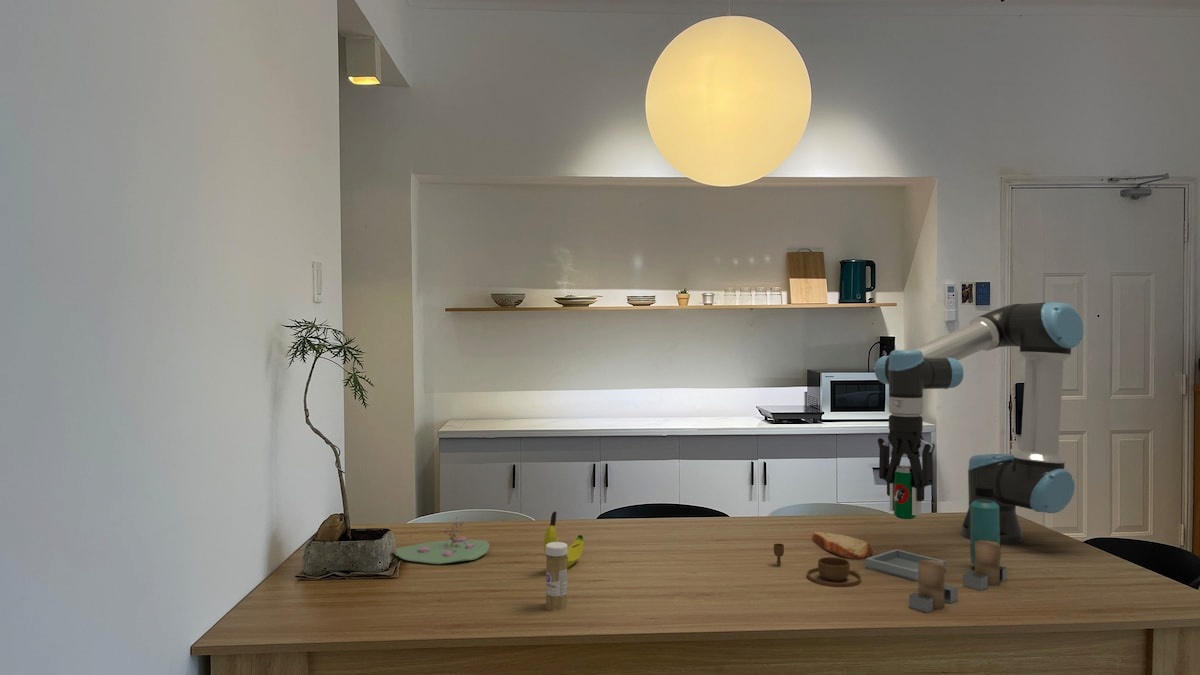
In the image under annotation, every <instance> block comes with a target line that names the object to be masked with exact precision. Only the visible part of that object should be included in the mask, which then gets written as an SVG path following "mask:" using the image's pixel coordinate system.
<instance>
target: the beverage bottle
mask: <svg viewBox="0 0 1200 675" xmlns="http://www.w3.org/2000/svg"><path fill="white" fill-rule="evenodd" d="M975 495H976V496H981V497H994V489H993V488H992V487H989V486H976V489H975ZM970 506H971V535H970V536H971V540H970V539H969V540H970V543H969V546H970V552H969V555H970V557H969V558H970V561H971V564H972V565H974V566H975V541H979V540H985V541H992V542H996V543H998V544H1000V542H1001V540H1000V526H999V505H998V504H997V503H995V502H994V501H992V500H986V499H977V500H975V501H973V502H972V503H971V504H970ZM1000 545H1001V544H1000ZM1001 546H1002V545H1001ZM1001 546H1000V561H1001V559H1002V558H1001V556H1002V554H1001V552H1002V551H1001V550H1002V549H1001V548H1002V547H1001Z"/></svg>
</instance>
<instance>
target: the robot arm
mask: <svg viewBox="0 0 1200 675" xmlns="http://www.w3.org/2000/svg"><path fill="white" fill-rule="evenodd" d="M1083 336H1084V324H1083V320H1082V317H1081V315H1080V314H1079V313H1078V312H1077V310H1076V309H1075V308H1074V307H1073V306H1072V305H1070V304H1068V303H1066V302H1053V301H1052V302H1051V301H1050V302H1049V301H1047V302H1031V303H1012V304H1008V305H1005V306H1001V307H998V308H996V309H993V310H991V311H989V312H986V313H984V314H981V315H979V316H977V317H974V318H973V319H971V321H970V322H969V324H967V325H965V326H963V327H961V328H958V329H956V330H954V331H952V332H949V333H946V334H943V335H942V336H939V337H938V338H936V339H933V340H931V341H927V342H926V343H924V344H921V345H919V346H917V347H913V348H912V349H902V350H901V349H895V350H892V351H890V353H889V355H885V356H884V355H883V356H881V357H880V358H878V359H877V361H876V363H875V365H874V374H875V377H876V379H877V380H878V381H879V382H880V383H882V384H884V385H888V413H890V415H889V416H888V429H889V433H888V435H887V437H879V438H878V439H877V444H878V448H879V458H878V459H879V460H878V462H879V465H878V467H879V468H878V469H879V470H878V478H879V479H880V480H884V481H885V482H886V494H887V496H889V511H891V512H894V470H895V469H896V466H901V460H902V457H903V456H904V455H906V458H907V459H908V460H909V464H910V465H909V466H911V469H912V474H913V478H914V482H915V486H914V487H912V515H917V516H919V515H921V514H922V502H923V501H924V500H925V488H926V487H928V486H932V485H933V481H934V478H933V477H934V474H933V471H934V470H933V469H934V468H933V465H934V464H933V453H934V451H935V448H936V447H935V443H932V442H930V443H929V442H927V441H925V440H924V437H923V428H924V427H923V425H924V424H923V419H924V418H923V417H922V416H921V415H922V414H923V413H924V410H923V408H924V406H923V404H924V403H923V400H924V399H923V397H924V395H923V392H924V391H923V390H932V389H933V390H936V389H937V390H938V389H939V390H940V389H944V390H948V389H953V388H957V387H958V386H960V384H961V383H962V381H963V380H964V366H962V363H961V362H960V361H961V360H962V359H964V358H967V357H969V356H972V355H974V354H976V353H978V352H980V351H982V350H983V351H986V352H987V351H992V350H994V349H997V348H1003V347H1018V348H1019V354H1020V355H1021V356H1022V357H1023V358H1024V359H1025V372H1024V385H1023V400H1022V402H1023V403H1022V416H1021V417H1022V418H1021V422H1022V423H1021V434H1020V435H1021V438H1020V450H1019V451H1018V452H1017V453H1015V454H1011V453H991V454H989V453H988V454H976V455H973V456H971V457H970V458H969V460H968V469H967V474H968V476H967V478H968V480H967V482H968V483H967V484H968V508H967V512H966V513H965V514H966V515H965V517H964V520H963V523H962V525H961V536H962V537H964V538H965V539H968V540H971V536H970V535H971V506H970V504H971V503H972V502H973V501H975V500H977V499H986V500H992V501H994V502H995V503H997V504H998V505H999V526H1000V540H1001V542H1000V544H1001V546H1003V545H1009V546H1010V545H1018V544H1021V543H1022V542H1023V541H1024V533H1023V532H1024V531H1023V529H1022V527H1021V524H1020V521H1019V518H1018V515H1017V511H1016V510H1017V509H1016V507H1019V508H1023V509H1024V508H1025V509H1029V510H1032V511H1034V512H1037V513H1047V514H1056V513H1060V512H1061V511H1063V510H1064V509H1065V508H1066V506H1067V505H1069V503H1070V502H1071V501H1072V499H1073V496H1074V493H1075V488H1076V486H1075V480H1074V478H1073V476H1072V473H1070V472H1069V471H1068V470H1066V469H1065V464H1066V463H1065V462H1066V461H1065V460H1064V459H1063V458H1062V457H1061V456H1060V454H1059V450H1060V449H1059V447H1060V446H1059V445H1060V431H1061V430H1060V429H1061V428H1060V427H1061V413H1062V412H1061V411H1062V395H1063V394H1062V392H1063V381H1064V380H1063V378H1064V377H1063V376H1064V362H1066V360H1068V358H1070V357H1071V355H1072V349H1073V348H1075V347H1077V346H1079V344H1080V343H1081V341H1082V339H1083ZM890 445H891V446H892V450H891V449H890V448H891V447H890ZM920 449H921V451H922V454H921V455H920ZM890 450H891V453H890ZM890 456H891V457H890ZM920 457H921V458H920ZM920 459H921V460H920ZM976 486H989V487H992V488H993V489H994V497H981V496H976V495H975V489H976Z"/></svg>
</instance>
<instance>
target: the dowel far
mask: <svg viewBox="0 0 1200 675" xmlns="http://www.w3.org/2000/svg"><path fill="white" fill-rule="evenodd" d="M1000 559H1001V558H1000V544H998V543H996V542H992V541H985V540H979V541H975V565H974V572H976V573H980V574H984V575H988V586H995V587H996V586H999V585H1000V582H1001V581H1000V566H1001V565H1000V564H1001V560H1000Z"/></svg>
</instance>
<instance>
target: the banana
mask: <svg viewBox="0 0 1200 675" xmlns="http://www.w3.org/2000/svg"><path fill="white" fill-rule="evenodd" d="M556 520H557V511H553V512H552V514H551V517H550V523H549V526H548V528H547V529H546V532H545V535H544V541H543V551H544V552H545V550H546V544H548V543H551V542H560V541H559V539H558V537H557V534H556V522H557V521H556ZM584 545H585V544H584V537H583V535H582V534H579V535H577V537H576V538H575V540H574V541H573V542H572V544H571V545H570V546H569V547H568V553H567V569H568V568H570V567H572V566H573V565H574V564H575V563H576V562H577V561H578V560H579V559H580V558H581V556H582V554H583V550H584Z"/></svg>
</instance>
